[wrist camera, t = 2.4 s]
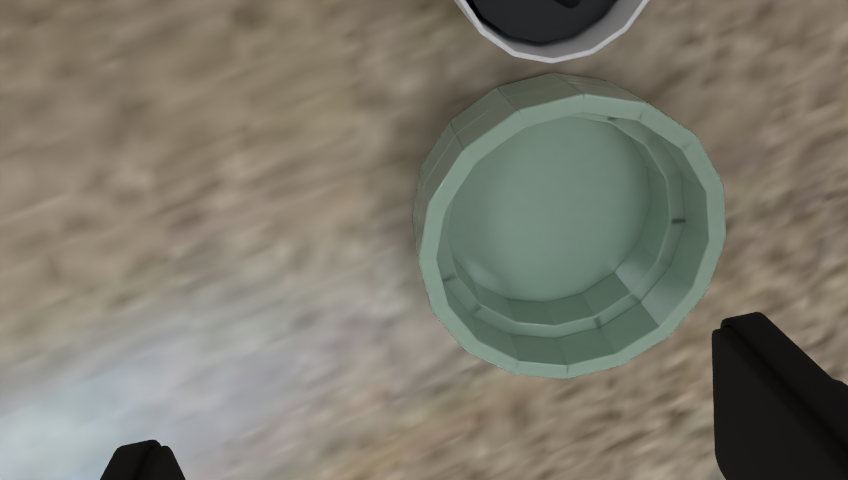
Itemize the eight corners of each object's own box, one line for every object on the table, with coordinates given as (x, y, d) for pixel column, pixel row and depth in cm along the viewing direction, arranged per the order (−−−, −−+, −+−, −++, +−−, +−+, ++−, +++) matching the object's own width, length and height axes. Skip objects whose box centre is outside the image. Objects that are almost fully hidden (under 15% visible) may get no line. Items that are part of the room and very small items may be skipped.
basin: (383, 112, 31) (386, 143, 26) (661, 40, 31) (718, 58, 26) (445, 344, 37) (458, 406, 32) (681, 285, 37) (731, 339, 32)
